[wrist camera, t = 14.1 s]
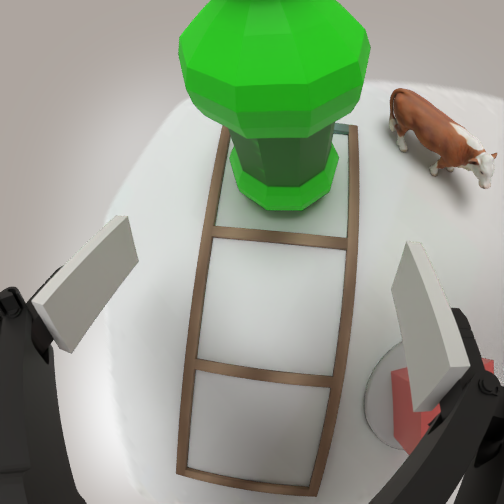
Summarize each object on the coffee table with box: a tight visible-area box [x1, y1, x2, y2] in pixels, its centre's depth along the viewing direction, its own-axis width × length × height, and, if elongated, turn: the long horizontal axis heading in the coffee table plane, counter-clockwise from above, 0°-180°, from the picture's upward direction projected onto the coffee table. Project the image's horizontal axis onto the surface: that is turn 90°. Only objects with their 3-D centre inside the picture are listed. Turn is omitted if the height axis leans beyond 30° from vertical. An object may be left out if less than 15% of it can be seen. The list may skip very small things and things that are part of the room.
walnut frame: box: [176, 123, 359, 497], centre depth 27 cm, size 15×40×1 cm, turn 173°
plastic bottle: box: [178, 0, 371, 211], centre depth 18 cm, size 10×10×25 cm
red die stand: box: [364, 341, 494, 455], centre depth 19 cm, size 12×12×9 cm
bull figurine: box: [389, 88, 497, 189], centre depth 24 cm, size 4×13×8 cm, turn 42°
